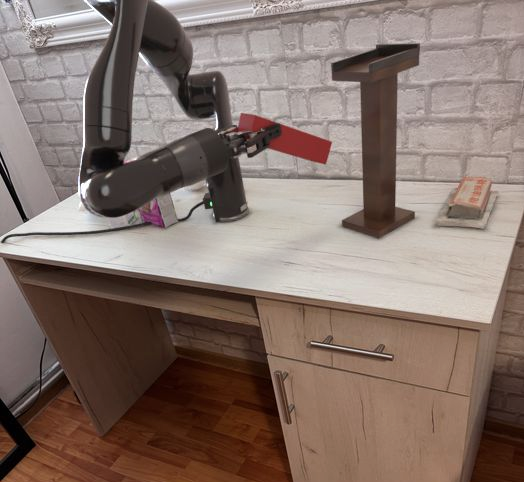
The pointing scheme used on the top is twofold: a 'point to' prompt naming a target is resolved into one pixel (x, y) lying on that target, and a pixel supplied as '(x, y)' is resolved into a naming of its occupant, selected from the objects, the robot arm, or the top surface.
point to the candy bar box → (158, 210)
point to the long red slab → (289, 139)
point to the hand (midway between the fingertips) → (271, 127)
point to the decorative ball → (195, 186)
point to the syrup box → (122, 220)
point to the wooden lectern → (378, 132)
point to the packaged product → (468, 204)
